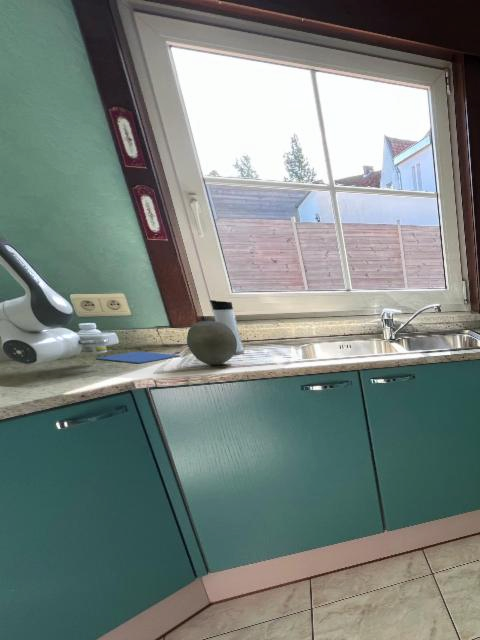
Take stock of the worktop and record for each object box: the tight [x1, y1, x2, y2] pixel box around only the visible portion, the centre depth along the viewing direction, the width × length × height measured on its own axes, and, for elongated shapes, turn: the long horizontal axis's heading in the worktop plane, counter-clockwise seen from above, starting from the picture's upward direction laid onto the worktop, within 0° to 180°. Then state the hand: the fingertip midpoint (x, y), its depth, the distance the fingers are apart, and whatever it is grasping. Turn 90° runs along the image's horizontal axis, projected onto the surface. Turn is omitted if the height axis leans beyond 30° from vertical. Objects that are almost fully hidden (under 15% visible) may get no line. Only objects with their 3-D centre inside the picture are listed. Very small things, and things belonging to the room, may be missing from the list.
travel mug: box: [209, 299, 244, 356], centre depth 185 cm, size 6×7×20 cm
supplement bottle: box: [78, 322, 108, 355], centre depth 163 cm, size 5×5×10 cm
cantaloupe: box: [186, 320, 237, 366], centre depth 168 cm, size 14×14×15 cm
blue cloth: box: [96, 351, 181, 365], centre depth 177 cm, size 20×14×1 cm
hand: (92, 335), depth 164 cm, fingers closed on supplement bottle, 5 cm apart
